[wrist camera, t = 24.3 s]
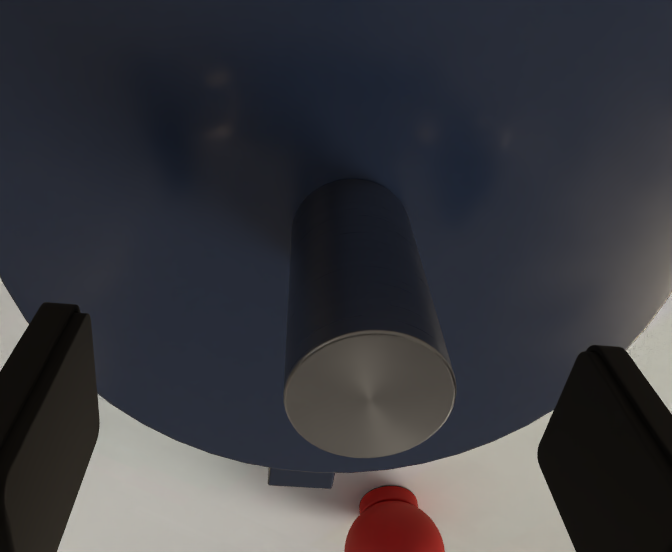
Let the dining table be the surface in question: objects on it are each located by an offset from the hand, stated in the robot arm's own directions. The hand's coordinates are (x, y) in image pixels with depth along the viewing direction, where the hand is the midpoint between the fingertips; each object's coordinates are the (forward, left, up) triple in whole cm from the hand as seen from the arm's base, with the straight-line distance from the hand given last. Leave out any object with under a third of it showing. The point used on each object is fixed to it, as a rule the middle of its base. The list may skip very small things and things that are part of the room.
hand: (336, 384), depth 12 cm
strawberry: (+6, -18, -12) cm, 23 cm away
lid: (0, +1, -6) cm, 6 cm away
